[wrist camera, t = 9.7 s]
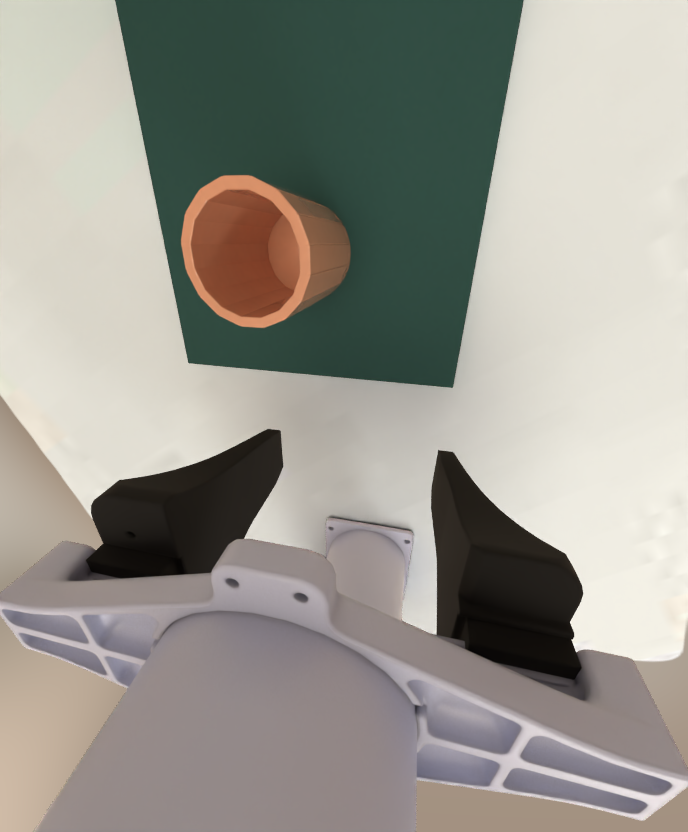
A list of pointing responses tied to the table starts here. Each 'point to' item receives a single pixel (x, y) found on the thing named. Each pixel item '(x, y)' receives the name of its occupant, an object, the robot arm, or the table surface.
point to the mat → (333, 160)
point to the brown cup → (261, 250)
